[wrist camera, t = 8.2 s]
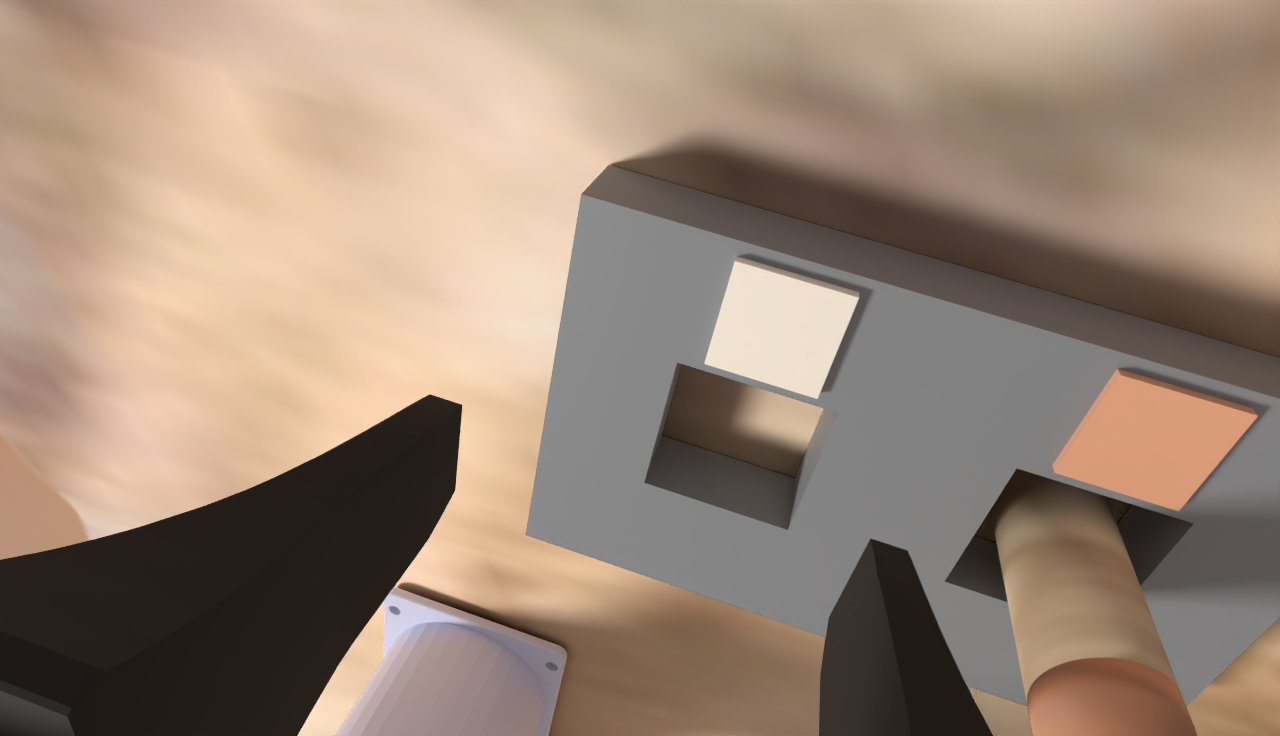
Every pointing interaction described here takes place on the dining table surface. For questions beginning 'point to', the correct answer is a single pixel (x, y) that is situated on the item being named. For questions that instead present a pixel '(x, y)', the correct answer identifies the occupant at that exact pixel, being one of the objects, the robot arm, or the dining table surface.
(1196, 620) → the socket board
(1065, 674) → the plug
